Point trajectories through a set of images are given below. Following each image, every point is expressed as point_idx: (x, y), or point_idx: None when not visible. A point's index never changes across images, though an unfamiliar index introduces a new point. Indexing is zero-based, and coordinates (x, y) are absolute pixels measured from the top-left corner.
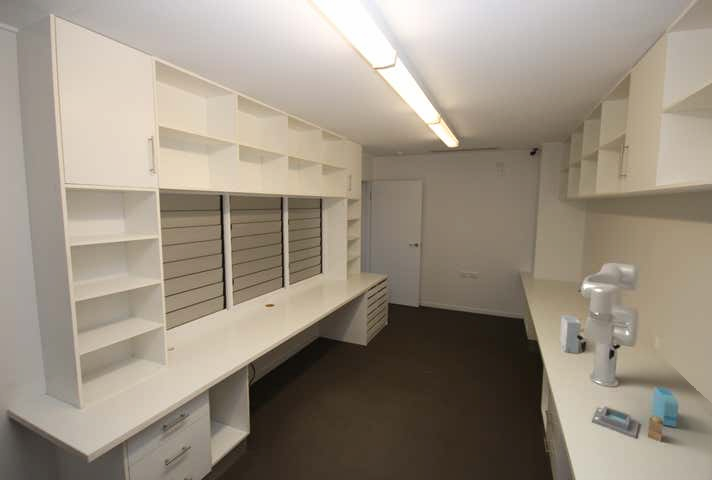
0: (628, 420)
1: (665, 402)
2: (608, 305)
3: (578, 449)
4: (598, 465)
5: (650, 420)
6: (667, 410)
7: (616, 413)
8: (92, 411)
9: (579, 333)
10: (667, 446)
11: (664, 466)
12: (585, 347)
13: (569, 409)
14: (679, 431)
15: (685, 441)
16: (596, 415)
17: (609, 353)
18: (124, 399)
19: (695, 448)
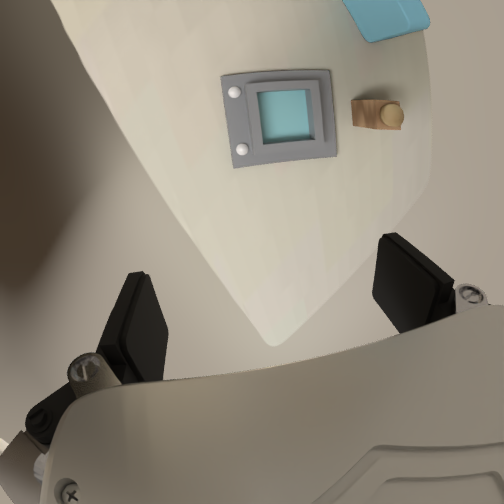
0: (319, 119)
1: (407, 30)
2: None
3: (251, 302)
4: (292, 314)
5: (378, 122)
6: (398, 34)
7: (281, 90)
8: None
9: (41, 464)
10: (386, 135)
11: (383, 219)
12: (145, 305)
13: (162, 154)
14: (393, 47)
15: (406, 85)
16: (234, 131)
17: (397, 329)
18: None
19: (420, 101)
